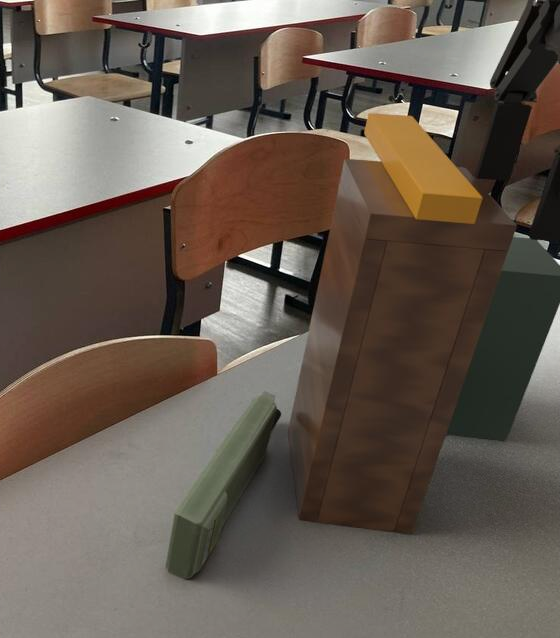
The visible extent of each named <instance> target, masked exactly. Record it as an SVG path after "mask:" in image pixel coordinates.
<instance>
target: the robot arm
mask: <svg viewBox="0 0 560 638" xmlns="http://www.w3.org/2000/svg"><path fill="white" fill-rule="evenodd" d="M557 63H558V64H559V65H560V0H527V2H526V5H525V7H524V9H523V11H522V13H521V16H520V17H519V20H518V21H517V24H516V26H515V28H514V30H513V33H512V34H511V37H510V38H509V40H508V43H507V45H506V47H505V49H504V51H503V53H502V55H501V57H500V59H499V61H498V63H497V66H496V67H495V69H494V72H493V74H492V76H491V78H490V80H489V87H490V89H495V91H494V101H496V102H495V104H494V107H493V111H492V113H491V117H490V121H489V125H488V127H487V131H486V135H485V137H484V138H485V139H484V141H483V145H482V149H481V151H480V152H481V153H480V156H479V159H478V161H477V166H476V169H475V173H474V178H475V179H476V180H491V181H504V182H505V181H506V182H507V181H510V180H511V177H512V173H513V170H514V167H515V164H516V160H517V157H518V153H519V150H520V147H521V144H522V141H523V139H524V134H525V132H526V128H527V125H528V122H529V119H530V115H531V112H532V109H533V106H532V105H530V104H536V103H537V102H538V100H537V99H538V95H537V89H538V88H539V87H540V86H541V84H542V83H543V82H544V81H545V80H546V77H548V75H549V74H550V73H551V71H552V70H553V69H554V68H555V66H556V64H557ZM523 103H530V104H523ZM553 152H554V158H553V161H552V164H551V166H550V170H549V172H548V175H547V179H546V181H545V183H544V186H543V190H542V193H541V196H540V199H539V202H538V205H537V208H536V211H535V213H534V216H533V220H532V223H531V225H530V229H529V232H528V235H527V237H528V238H531V239H532V240H537V241H546V242H559V243H560V144H559V145H557V146H555V148H553Z"/></svg>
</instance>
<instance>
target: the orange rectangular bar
mask: <svg viewBox="0 0 560 638" xmlns="http://www.w3.org/2000/svg"><path fill="white" fill-rule="evenodd" d="M363 133H364V136H365V137H366V139H367V141H368V143H369V144H370V146H371V147H372V149H373V151H374V153H375V154H376V156H377V157H378V159H379V161H381V162H382V164H383V166H384V167H385V169H386V171H387V172H388V174H389V176H390V177H391V179H392V180H393V182H394V184H395V185H396V187H397V189H398V190H399V192H400V194H401V195H402V197H403V199H404V200H405V202H406V204H407V205H408V207H409V209H410V210H411V212H412V213H413V215H414V217H415V218H416V219H419V220H431V221H444V222H456V223H468V224H475V221H476V218H477V215H478V211H479V208H480V205H481V202H482V196H481V195H480V194H479V193H478V192H477V190H476V189H475V188H474V187H473V186H472V185H471V184H470V182H469V181H468V180H467V179H466V178H465V177H464V175H463V174H462V173H461V172H460V171H459V170H458V169H457V167H458V166H456V165H455V163H453V162H452V160H451V159H450V158H449V157H448V156H447V154H446V153H445V152H444V151H443V150H442V149H441V147H440V146H438V144H437V143H436V141H434V140H433V138H432V137H431V136H430V135H429V134H428V132H427V131H426V130H425V129H424V128H423V127H422V125H421V124H420V123H419V122H418V121H417V120H416V119H415V118H414V116H412V115H401V114H387V113H386V114H385V113H375V112H373V113H371V112H369V113H367V118H366V122H365V127H364V132H363Z"/></svg>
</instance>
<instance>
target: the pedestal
mask: <svg viewBox="0 0 560 638" xmlns="http://www.w3.org/2000/svg"><path fill="white" fill-rule="evenodd" d="M559 308H560V264H559V262H557V260H556V259H555V258H554V257H553V256H552V255H551V254H550V252H548V250H546V248H545V247H544V246H543V245H542V244H541V243H540V242H539V240H532V239H531V238H530V237H519V236H513V239H512V242H511V245H510V248H509V251H508V253H507V256H506V259H505V262H504V265H503V268H502V271H501V274H500V277H499V280H498V283H497V286H496V289H495V292H494V295H493V297H492V300H491V303H490V306H489V309H488V312H487V315H486V318H485V321H484V324H483V327H482V330H481V333H480V336H479V339H478V342H477V345H476V348H475V351H474V353H473V356H472V359H471V362H470V365H469V368H468V371H467V374H466V377H465V380H464V383H463V386H462V389H461V392H460V395H459V398H458V401H457V404H456V407H455V410H454V412H453V415H452V418H451V421H450V424H449V427H448V430H447V433H446V435H450V436H451V435H452V436H460V437H468V438H477V439H485V440H486V439H487V440H496V441H504V442H506V441H507V440H508V438H509V435H510V433H511V430H512V428H513V425H514V422H515V419H516V417H517V415H518V412H519V409H520V407H521V404H522V401H523V399H524V396H525V394H526V391H527V389H528V387H529V383H530V381H531V379H532V376H533V374H534V372H535V369H536V366H537V363H538V361H539V358H540V355H541V353H542V351H543V348H544V345H545V344H546V340H547V339H548V338H547V337H548V335H549V333H550V330H551V328H552V325H553V323H554V320H555V318H556V315H557V313H558V310H559Z"/></svg>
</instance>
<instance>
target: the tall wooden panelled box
mask: <svg viewBox="0 0 560 638" xmlns="http://www.w3.org/2000/svg"><path fill="white" fill-rule="evenodd" d="M456 167H457V169H458V170H459V171H460V172H461V173H462V174H463V175H464V177H465V178H466V179H467V180H468V181H469V182H470V184H471V185H472V186H473V187H474V188H475V189H476V190H477V192H478V193H479V194H480V195H481V196H482V202H481V205H480V208H479V211H478V215H477V218H476V221H475V224H468V223H456V222H444V221H431V220H419V219H416V218H415V217H414V215H413V213H412V212H411V210H410V209H409V207H408V205H407V204H406V202H405V200H404V199H403V197H402V195H401V194H400V192H399V190H398V189H397V187H396V185H395V184H394V182H393V180H392V179H391V177H390V176H389V174H388V172H387V171H386V169H385V167H384V166H383V164H382V162H381V161H380V160H369V159H355V158H344V159H343V164H342V169H341V174H340V178H339V184H338V188H337V194H336V197H335V203H334V209H333V213H332V218H331V222H330V228H329V233H328V237H327V241H326V246H325V251H324V255H323V260H322V265H321V271H320V276H319V280H318V285H317V289H316V295H315V299H314V305H313V309H312V313H311V317H310V318H311V319H310V324H309V328H308V333H307V338H306V342H305V348H304V352H303V358H302V362H301V367H300V372H299V376H298V381H297V386H296V391H295V396H294V401H293V406H292V411H291V414H290V420H289V424H288V429H287V436H288V437H287V438H288V445H289V452H290V462H291V467H292V469H291V470H292V475H293V484H294V490H295V492H294V493H295V499H296V506H297V513H298V520H299V521H307V522H313V523H321V524H329V525H337V526H338V525H339V526H344V527H352V528H359V529H366V530H367V529H368V530H374V531H382V532H391V533H398V534H406V535H407V534H408V535H413V533H414V530H415V527H416V524H417V522H418V519H419V515H420V513H421V510H422V506H423V504H424V501H425V498H426V495H427V491H428V490H429V486H430V484H431V481H432V477H433V475H434V471H435V469H436V465H437V462H438V460H439V457H440V454H441V451H442V449H443V444H444V442H445V439H446V436H447V434H446V433H447V430H448V427H449V424H450V421H451V418H452V415H453V412H454V410H455V407H456V404H457V401H458V398H459V395H460V392H461V389H462V386H463V383H464V380H465V377H466V374H467V371H468V368H469V365H470V362H471V359H472V356H473V353H474V351H475V348H476V345H477V342H478V339H479V336H480V333H481V330H482V327H483V324H484V321H485V318H486V315H487V312H488V309H489V306H490V303H491V300H492V297H493V295H494V292H495V289H496V286H497V283H498V280H499V277H500V274H501V271H502V268H503V265H504V262H505V259H506V256H507V253H508V251H509V248H510V245H511V242H512V239H513V237H515V233H516V230H517V227H518V225H517V224H516V223H515V221H514V220H513V219H512V218H511V217H510V216H509V215H508V214H507V213H506V211H505V210H504V209H503V208H502V206H500V204H498V203H497V201H496V200H495V199H494V198H493V197H492V196H491V194H490V193H488V192H487V190H486V189H485V188H484V187H483V186H482V185H481V183H479V181H478V179H477V178H476V177H475V176H473V175H472V173H471V172H470V170H468V169H467V168H466V167H462V166H456Z"/></svg>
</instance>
